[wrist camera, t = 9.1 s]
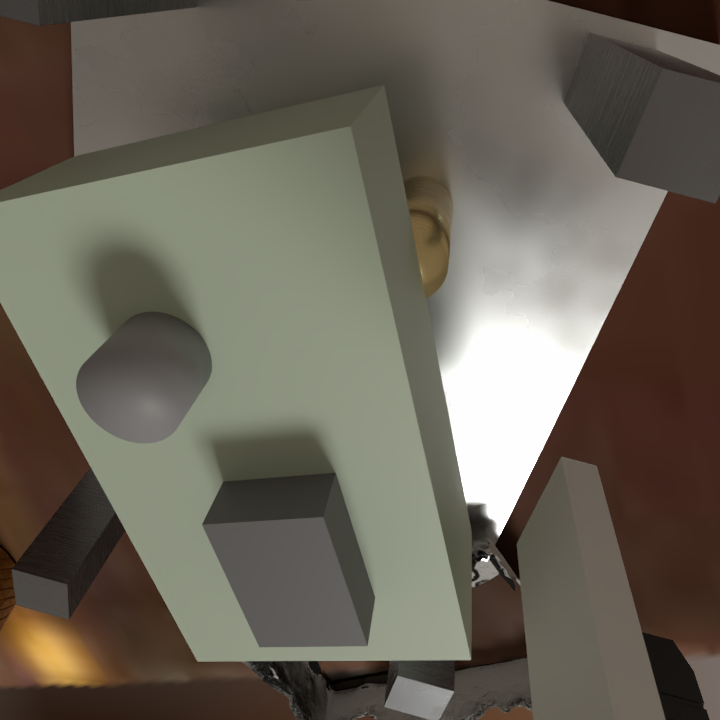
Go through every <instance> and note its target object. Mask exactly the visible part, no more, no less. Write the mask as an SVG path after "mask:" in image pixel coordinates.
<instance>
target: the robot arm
mask: <svg viewBox="0 0 720 720" xmlns="http://www.w3.org/2000/svg"><path fill="white" fill-rule="evenodd" d="M517 553H518V563H519V574H520V584H521V595H522V606H523V616H524V627H525V637H526V648H527V659H528V669H529V680H530V690H531V701H532V711H533V720H709V717H708V714H707V711H706V710H705V709H704V708H703V705H704V701H703V699H702V696H701V693H700V689H699V687H698V683H697V681H696V677H695V674H694V671H693V670H692V668H691V667H690V665H689V664H688V662H687V661H686V659H685V658H684V656H683V655H682V653H681V652H680V650H679V649H678V647H677V646H676V644H675V643H674V641H673V640H669V639H666V638H662V637H658V636H654V635H650V634H646V633H643V632H642V631H641V627H640V624H639V620H638V616H637V612H636V609H635V605H634V601H633V598H632V594H631V590H630V587H629V583H628V579H627V576H626V572H625V568H624V565H623V561H622V557H621V553H620V550H619V546H618V542H617V539H616V535H615V531H614V528H613V524H612V520H611V517H610V513H609V509H608V506H607V502H606V498H605V495H604V491H603V487H602V483H601V480H600V476H599V472H598V469H597V466H596V465H592V464H588V463H584V462H580V461H576V460H573V459H569V458H565V457H561V459H560V461H559V462H558V464H557V466H556V468H555V470H554V472H553V474H552V476H551V478H550V480H549V482H548V484H547V486H546V488H545V490H544V492H543V494H542V496H541V497H540V499H539V501H538V503H537V505H536V507H535V509H534V511H533V513H532V515H531V517H530V519H529V521H528V523H527V525H526V527H525V529H524V531H523V532H522V534H521V536H520V538H519V540H518V542H517Z"/></svg>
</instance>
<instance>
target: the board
mask: <svg viewBox="0 0 720 720" xmlns="http://www.w3.org/2000/svg"><path fill="white" fill-rule="evenodd" d="M0 303H1V305H2V306H3V308H4V310H5V312H6V314H7V316H8V317H9V319H10V321H11V323H12V325H13V326H14V328H15V330H16V332H17V334H18V336H19V337H20V339H21V341H22V343H23V345H24V347H25V348H26V350H27V352H28V354H29V356H30V357H31V359H32V361H33V363H34V365H35V367H36V368H37V370H38V372H39V374H40V376H41V377H42V379H43V381H44V383H45V385H46V387H47V388H48V390H49V392H50V394H51V396H52V397H53V399H54V401H55V403H56V405H57V407H58V408H59V410H60V412H61V414H62V416H63V417H64V419H65V421H66V423H67V425H68V427H69V428H70V430H71V432H72V434H73V436H74V438H75V439H76V441H77V443H78V445H79V447H80V448H81V450H82V452H83V454H84V456H85V458H86V459H87V461H88V463H89V465H90V467H91V468H92V470H93V472H94V474H95V476H96V478H97V479H98V481H99V483H100V485H101V487H102V488H103V490H104V492H105V494H106V496H107V498H108V499H109V501H110V503H111V505H112V507H113V508H114V510H115V512H116V514H117V516H118V518H119V519H120V521H121V523H122V525H123V527H124V529H125V530H126V532H127V534H128V536H129V538H130V539H131V541H132V543H133V545H134V547H135V549H136V550H137V552H138V554H139V556H140V558H141V559H142V561H143V563H144V565H145V567H146V569H147V570H148V572H149V574H150V576H151V578H152V579H153V581H154V583H155V585H156V587H157V589H158V590H159V592H160V594H161V596H162V598H163V600H164V601H165V603H166V605H167V607H168V609H169V610H170V612H171V614H172V616H173V618H174V620H175V621H176V623H177V625H178V627H179V629H180V630H181V632H182V634H183V636H184V638H185V640H186V641H187V643H188V645H189V647H190V649H191V650H192V652H193V654H194V656H195V658H196V660H197V661H405V660H471V614H472V530H471V525H470V520H469V515H468V510H467V505H466V500H465V495H464V490H463V485H462V479H461V474H460V469H459V464H458V459H457V454H456V449H455V444H454V439H453V433H452V428H451V423H450V418H449V413H448V408H447V403H446V398H445V393H444V388H443V382H442V377H441V372H440V367H439V362H438V357H437V352H436V347H435V342H434V336H433V331H432V326H431V321H430V316H429V311H428V306H427V301H426V296H425V290H424V285H423V280H422V275H421V270H420V265H419V260H418V255H417V250H416V245H415V239H414V234H413V229H412V224H411V219H410V214H409V209H408V204H407V199H406V193H405V188H404V183H403V178H402V173H401V168H400V163H399V158H398V153H397V148H396V142H395V137H394V132H393V127H392V122H391V117H390V112H389V107H388V102H387V96H386V91H385V86H384V85H381V86H377V87H373V88H368V89H364V90H360V91H355V92H351V93H347V94H342V95H338V96H334V97H329V98H325V99H321V100H316V101H312V102H308V103H303V104H299V105H295V106H290V107H286V108H281V109H277V110H273V111H268V112H264V113H260V114H255V115H251V116H247V117H242V118H238V119H234V120H229V121H225V122H221V123H216V124H212V125H208V126H203V127H199V128H195V129H190V130H186V131H181V132H177V133H173V134H168V135H164V136H160V137H155V138H151V139H147V140H142V141H138V142H134V143H129V144H125V145H121V146H116V147H112V148H108V149H103V150H99V151H95V152H90V153H86V154H81V155H77V156H75V157H72V158H70V159H68V160H66V161H64V162H61V163H59V164H57V165H55V166H53V167H50V168H48V169H46V170H44V171H42V172H39V173H37V174H35V175H33V176H31V177H28V178H26V179H24V180H22V181H20V182H17V183H15V184H13V185H11V186H9V187H6V188H4V189H2V190H0Z"/></svg>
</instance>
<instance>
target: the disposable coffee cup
mask: <svg viewBox="0 0 720 720" xmlns="http://www.w3.org/2000/svg"><path fill="white" fill-rule="evenodd" d="M14 565H15V563H14V562H13V560H12V559H11V558H10V557H9V555H8V554H7V553H6V552H5V551H4V550H3V549H2V548H1V547H0V631H1V629H2V627H3V625H4V623H5V622H6V620H7V618H8V617H9V615H10V613H11V611H12V610H13V608H14V606H15V604H16V601H15V592H14V584H13V576H12V568H13V567H14Z"/></svg>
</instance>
